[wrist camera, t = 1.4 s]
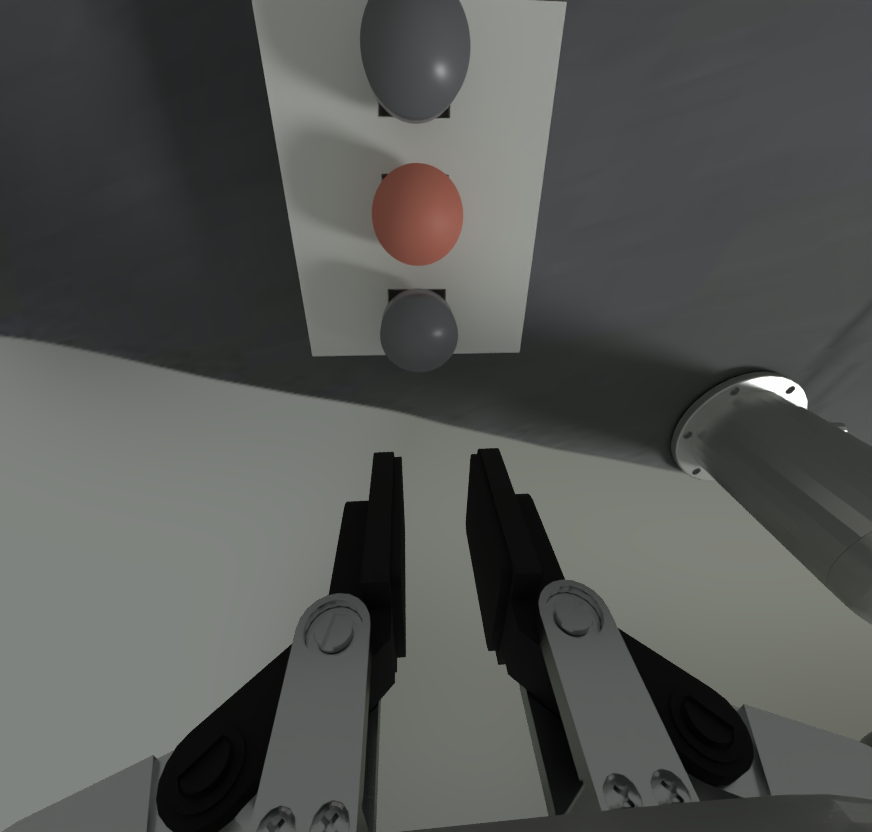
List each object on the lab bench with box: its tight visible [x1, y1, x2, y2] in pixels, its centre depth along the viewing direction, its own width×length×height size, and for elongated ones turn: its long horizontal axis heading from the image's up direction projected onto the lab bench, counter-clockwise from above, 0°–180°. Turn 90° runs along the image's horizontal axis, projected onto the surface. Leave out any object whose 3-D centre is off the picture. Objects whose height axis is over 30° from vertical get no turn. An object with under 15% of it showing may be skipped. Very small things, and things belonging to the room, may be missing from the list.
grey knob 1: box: [360, 0, 470, 124], centre depth 18 cm, size 4×4×6 cm
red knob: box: [372, 163, 463, 266], centre depth 21 cm, size 4×4×6 cm
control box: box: [252, 0, 567, 356], centre depth 24 cm, size 14×17×6 cm
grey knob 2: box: [380, 288, 458, 373], centre depth 24 cm, size 4×4×6 cm
